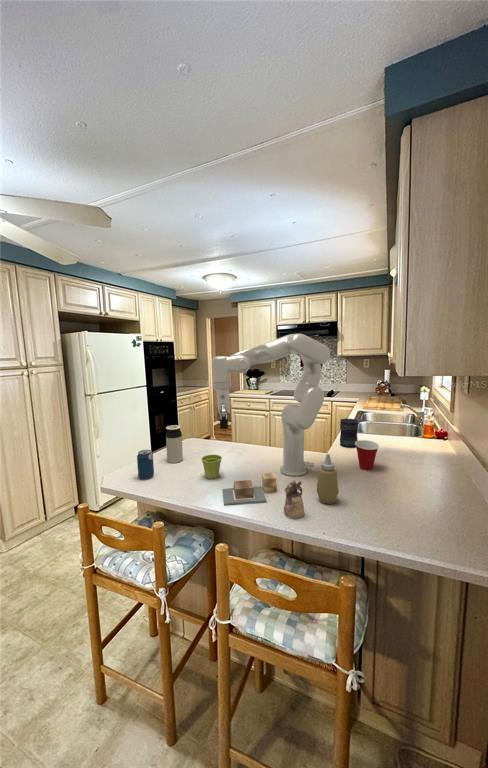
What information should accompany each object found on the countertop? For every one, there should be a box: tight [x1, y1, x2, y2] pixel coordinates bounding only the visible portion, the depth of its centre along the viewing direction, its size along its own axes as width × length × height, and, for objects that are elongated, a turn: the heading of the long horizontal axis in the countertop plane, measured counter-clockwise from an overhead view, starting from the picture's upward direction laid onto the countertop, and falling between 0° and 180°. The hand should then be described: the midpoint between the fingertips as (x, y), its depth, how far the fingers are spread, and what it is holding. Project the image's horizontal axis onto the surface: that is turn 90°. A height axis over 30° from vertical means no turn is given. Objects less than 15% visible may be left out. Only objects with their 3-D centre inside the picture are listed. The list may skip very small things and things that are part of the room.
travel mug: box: [165, 424, 184, 464], centre depth 160 cm, size 8×8×18 cm
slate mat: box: [222, 485, 267, 506], centre depth 121 cm, size 16×12×1 cm
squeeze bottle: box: [316, 453, 340, 505], centre depth 116 cm, size 8×8×18 cm
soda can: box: [136, 449, 155, 480], centre depth 141 cm, size 7×7×12 cm
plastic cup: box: [355, 439, 380, 471], centre depth 146 cm, size 11×11×12 cm
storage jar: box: [339, 418, 359, 449], centre depth 179 cm, size 10×10×15 cm
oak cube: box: [261, 472, 277, 494], centre depth 126 cm, size 5×5×6 cm
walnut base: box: [233, 479, 254, 499], centre depth 121 cm, size 7×7×4 cm
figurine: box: [283, 480, 305, 520], centre depth 108 cm, size 7×7×12 cm
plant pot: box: [200, 454, 223, 480], centre depth 140 cm, size 9×9×9 cm
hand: (223, 425), depth 131 cm, fingers open, 9 cm apart
